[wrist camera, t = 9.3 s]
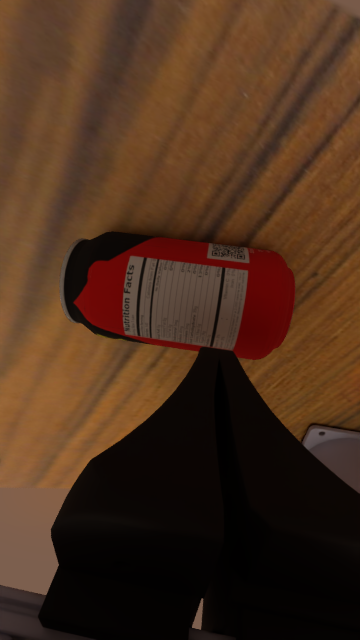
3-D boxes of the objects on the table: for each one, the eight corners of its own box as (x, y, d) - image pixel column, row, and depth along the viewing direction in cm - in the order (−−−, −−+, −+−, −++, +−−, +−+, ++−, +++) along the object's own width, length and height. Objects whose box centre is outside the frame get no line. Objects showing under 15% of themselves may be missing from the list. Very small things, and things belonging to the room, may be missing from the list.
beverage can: (287, 236, 16) (95, 214, 17) (314, 289, 11) (40, 253, 12) (260, 319, 20) (105, 297, 21) (272, 386, 15) (66, 354, 16)
